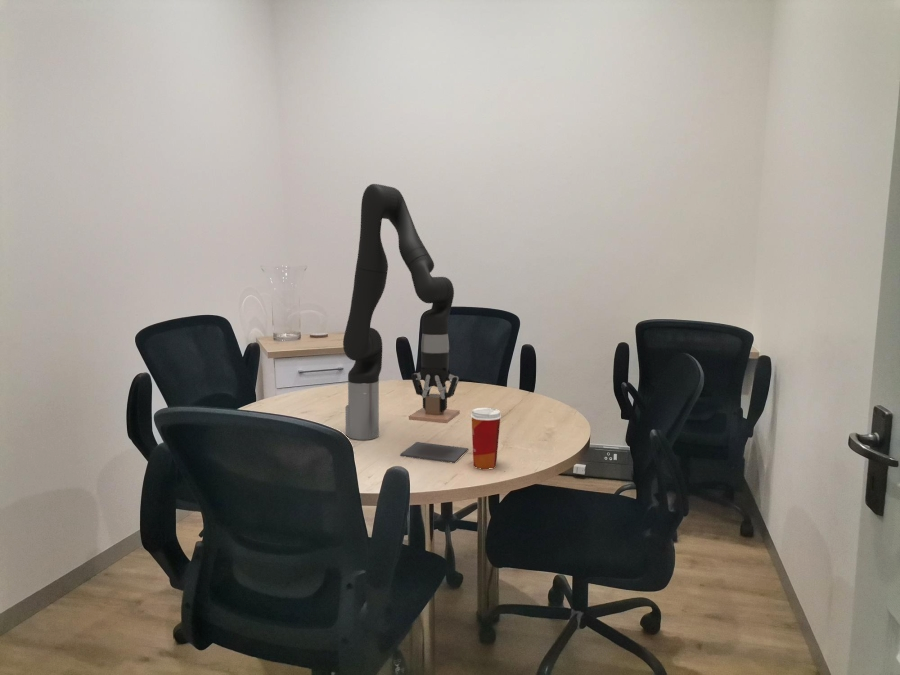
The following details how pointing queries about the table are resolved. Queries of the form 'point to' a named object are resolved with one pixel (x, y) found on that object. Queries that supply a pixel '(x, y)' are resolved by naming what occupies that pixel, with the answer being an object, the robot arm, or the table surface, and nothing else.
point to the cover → (434, 411)
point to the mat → (434, 452)
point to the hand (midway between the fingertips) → (434, 410)
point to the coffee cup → (485, 437)
